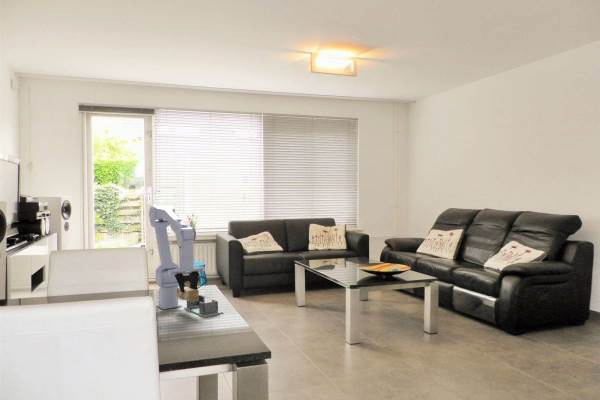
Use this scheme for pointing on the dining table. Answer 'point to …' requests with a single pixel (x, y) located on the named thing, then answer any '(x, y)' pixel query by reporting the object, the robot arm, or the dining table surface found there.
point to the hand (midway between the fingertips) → (187, 291)
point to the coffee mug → (187, 281)
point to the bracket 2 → (208, 307)
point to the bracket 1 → (195, 303)
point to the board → (202, 314)
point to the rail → (188, 294)
